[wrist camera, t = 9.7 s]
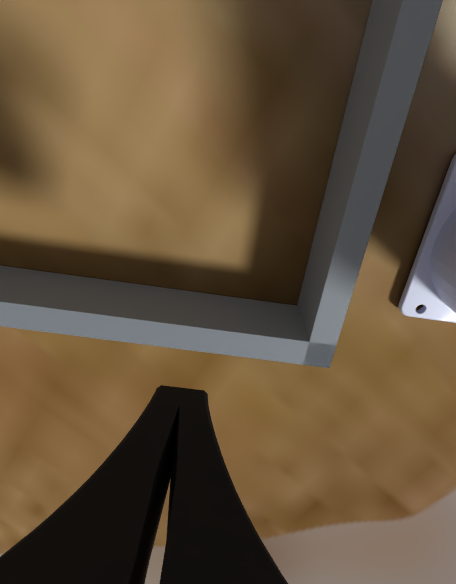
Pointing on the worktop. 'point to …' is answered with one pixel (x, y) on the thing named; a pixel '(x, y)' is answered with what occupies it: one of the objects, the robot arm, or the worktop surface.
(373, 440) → the worktop surface
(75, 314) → the cubby
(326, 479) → the worktop surface
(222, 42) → the worktop surface
